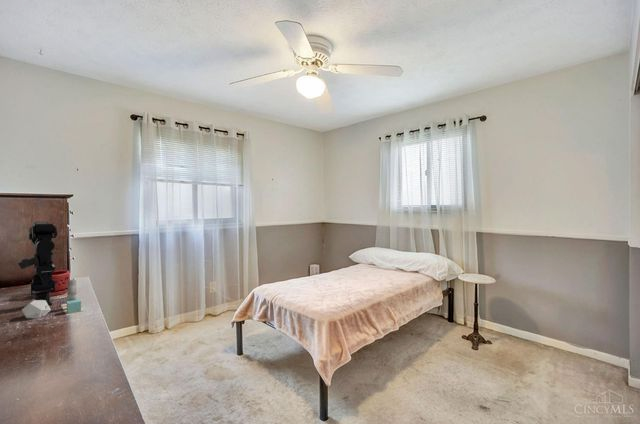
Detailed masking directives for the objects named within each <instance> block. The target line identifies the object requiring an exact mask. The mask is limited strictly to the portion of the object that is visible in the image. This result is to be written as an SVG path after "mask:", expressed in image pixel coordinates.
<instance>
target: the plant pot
mask: <svg viewBox="0 0 640 424" xmlns="http://www.w3.org/2000/svg"><path fill="white" fill-rule="evenodd" d="M70 278H71V273H70V271H69V270H62V269H61V270H55V271H54V273H53V275H52V280H54V281H55V282H56V291H54V292H50V297H53V296H61V295H63V294H66V293H67V281H69V280H71V279H70ZM51 289H52V288H51ZM60 294H61V295H60Z"/></svg>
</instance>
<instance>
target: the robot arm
mask: <svg viewBox="0 0 640 424" xmlns="http://www.w3.org/2000/svg"><path fill="white" fill-rule="evenodd" d="M57 237H58V228H57V227H56V225H54V223H52V222H49V223H48V221H34V222H33V226H31V227H30V228H29V229H28V240H29V241H30V244H31V246H32V247H34V249H35V252H34V253H33V256H31V257H28V258H27V257H26V258H25V257H24V258H23V259H21V260H19V261H17V265H18V266H19V268H20V270H24V269H26V268H28V267H32V266H33V268H34V270H35V274H34V275H33V277H32V282H30V286H29V287H30V288H29V292H30V293H29V294H30V296H34V299H33V300H46V302H47V304H48V305H49V306H52V305H53V304H52V301H51V296H50V292H54V291H56V282H55V281H54V280H52V275H53V273H54V271H56V265H55V264H54V261H53V255H54V253H53V250H54V249H55V247H56V246H55V243H54V241H53V239H56V238H57ZM51 288H52V289H51Z"/></svg>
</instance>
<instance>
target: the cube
mask: <svg viewBox="0 0 640 424" xmlns="http://www.w3.org/2000/svg"><path fill="white" fill-rule="evenodd" d="M66 304H67V313H68V314H69V313H74V312H79V311H81V308H82V301H81V300H80V299H76V300H72V301H68V300H67V301H66Z"/></svg>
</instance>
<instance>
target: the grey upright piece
mask: <svg viewBox="0 0 640 424" xmlns="http://www.w3.org/2000/svg"><path fill="white" fill-rule="evenodd" d="M66 293H67V299H66V300H67V301H72V300H77V279H70V280H69V281H67V292H66ZM60 306H61V307H62V309H63V312H64V313H65V315H66V316H70V315H74V314H81V313H84V312H85V311H84V309H83V308H82V307H81V311H79V312H74V313H69V314H68V313H67V303H63V304H60Z"/></svg>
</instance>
